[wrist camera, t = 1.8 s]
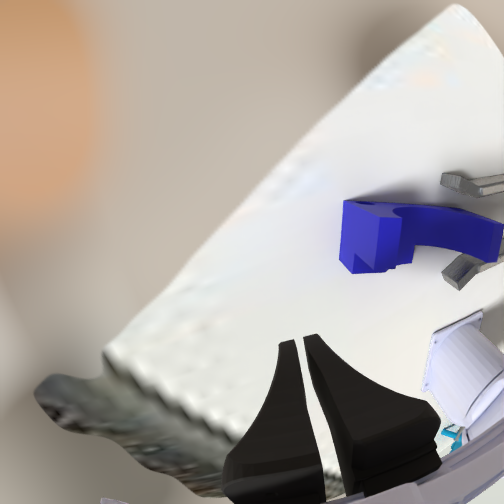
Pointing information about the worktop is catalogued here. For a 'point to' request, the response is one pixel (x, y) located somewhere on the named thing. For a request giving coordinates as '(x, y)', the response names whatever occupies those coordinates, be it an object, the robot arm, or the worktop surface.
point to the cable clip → (411, 234)
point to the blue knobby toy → (456, 437)
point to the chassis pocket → (466, 264)
